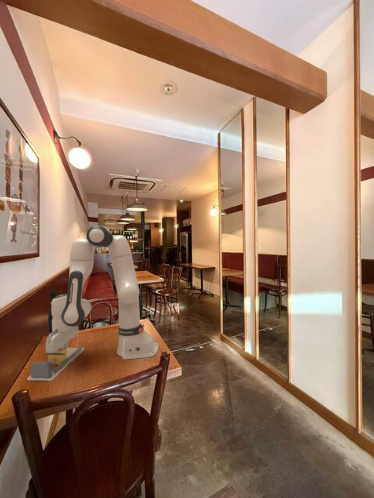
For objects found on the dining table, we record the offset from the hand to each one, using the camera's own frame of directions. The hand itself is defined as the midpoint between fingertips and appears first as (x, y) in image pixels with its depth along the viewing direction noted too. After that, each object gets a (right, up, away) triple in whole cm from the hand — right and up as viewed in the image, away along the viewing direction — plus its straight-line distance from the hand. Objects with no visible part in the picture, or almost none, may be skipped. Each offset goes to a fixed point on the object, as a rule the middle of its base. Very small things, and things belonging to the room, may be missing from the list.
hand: (63, 352), depth 108 cm
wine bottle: (-19, -3, +23) cm, 30 cm away
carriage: (0, -3, -6) cm, 7 cm away
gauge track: (0, -4, -3) cm, 5 cm away
